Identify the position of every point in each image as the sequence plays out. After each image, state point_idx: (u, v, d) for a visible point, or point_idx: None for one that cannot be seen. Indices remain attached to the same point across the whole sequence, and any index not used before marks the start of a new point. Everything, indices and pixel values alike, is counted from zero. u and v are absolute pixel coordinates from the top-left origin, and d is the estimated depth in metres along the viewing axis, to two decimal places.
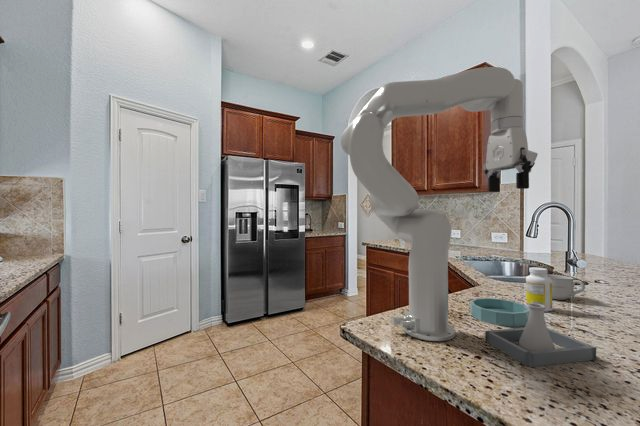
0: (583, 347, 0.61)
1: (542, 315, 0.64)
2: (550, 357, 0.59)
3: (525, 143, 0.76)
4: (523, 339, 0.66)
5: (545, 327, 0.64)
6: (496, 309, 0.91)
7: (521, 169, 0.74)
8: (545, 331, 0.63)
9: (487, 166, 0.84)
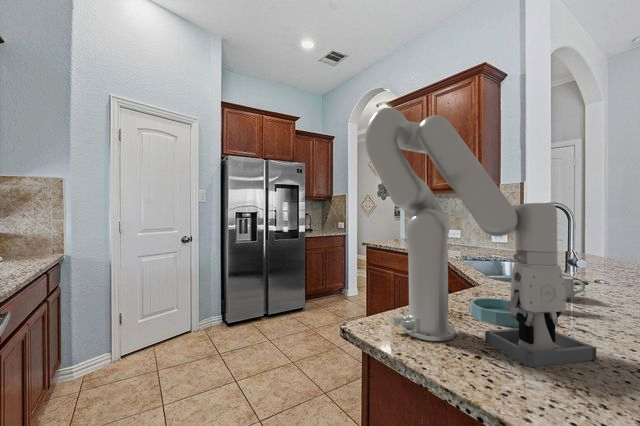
0: (583, 347, 0.61)
1: (542, 315, 0.64)
2: (550, 357, 0.59)
3: None
4: None
5: (545, 327, 0.64)
6: (496, 309, 0.91)
7: (556, 320, 0.65)
8: (545, 331, 0.63)
9: (531, 308, 0.62)
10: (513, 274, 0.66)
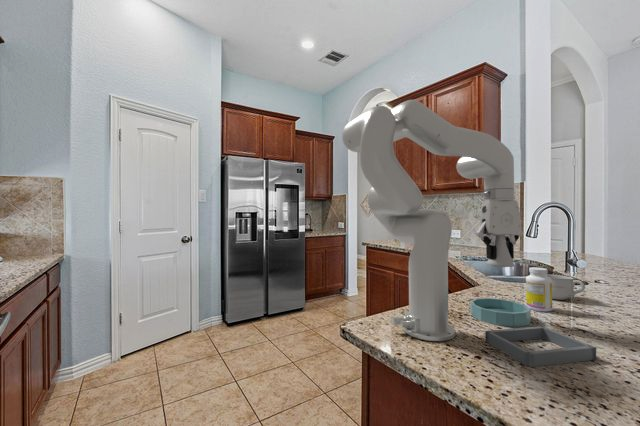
0: (583, 347, 0.61)
1: (504, 238, 0.84)
2: (550, 357, 0.59)
3: None
4: None
5: (505, 246, 0.84)
6: (496, 309, 0.91)
7: (514, 242, 0.85)
8: (505, 249, 0.84)
9: (493, 231, 0.82)
10: (481, 208, 0.86)
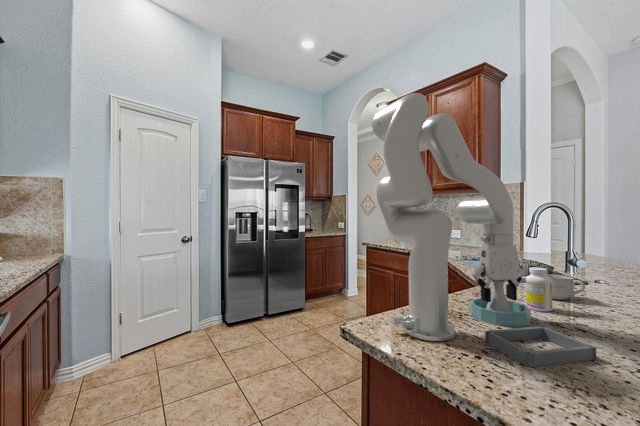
0: (583, 347, 0.61)
1: (502, 287, 0.85)
2: (550, 357, 0.59)
3: None
4: (488, 306, 0.86)
5: (504, 296, 0.85)
6: None
7: (517, 284, 0.86)
8: (504, 299, 0.84)
9: (493, 276, 0.83)
10: (481, 252, 0.87)
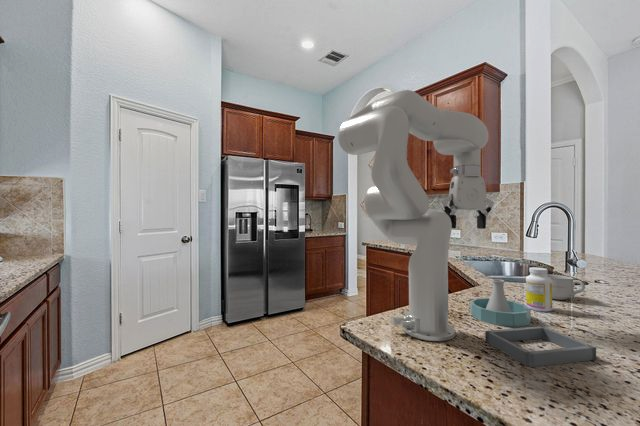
0: (583, 347, 0.61)
1: (502, 287, 0.85)
2: (550, 357, 0.59)
3: None
4: (488, 306, 0.86)
5: (504, 296, 0.85)
6: None
7: (486, 213, 0.90)
8: (504, 299, 0.84)
9: (459, 204, 0.88)
10: (450, 184, 0.92)
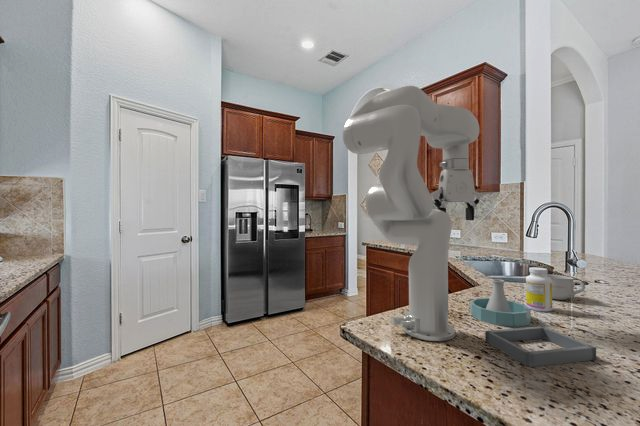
0: (583, 347, 0.61)
1: (502, 287, 0.85)
2: (550, 357, 0.59)
3: None
4: (488, 306, 0.86)
5: (504, 296, 0.85)
6: None
7: (475, 205, 0.93)
8: (504, 299, 0.84)
9: (449, 197, 0.90)
10: (440, 178, 0.94)
